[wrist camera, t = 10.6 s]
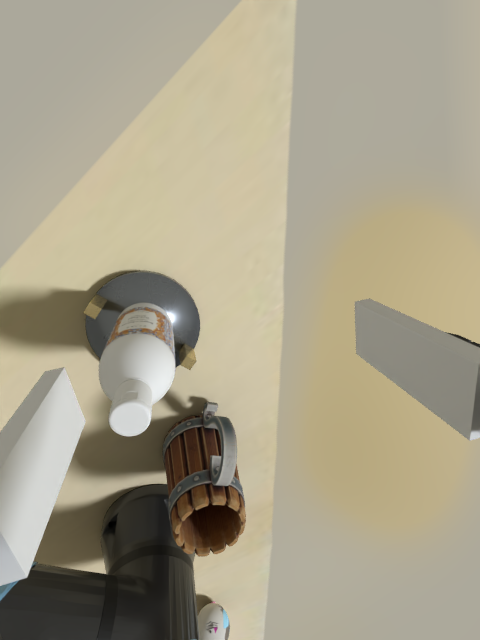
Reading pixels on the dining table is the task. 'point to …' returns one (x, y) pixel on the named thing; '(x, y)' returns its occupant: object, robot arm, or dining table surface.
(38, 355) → the dining table surface
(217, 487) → the mug
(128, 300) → the disc
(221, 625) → the figurine
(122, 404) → the bath foam
